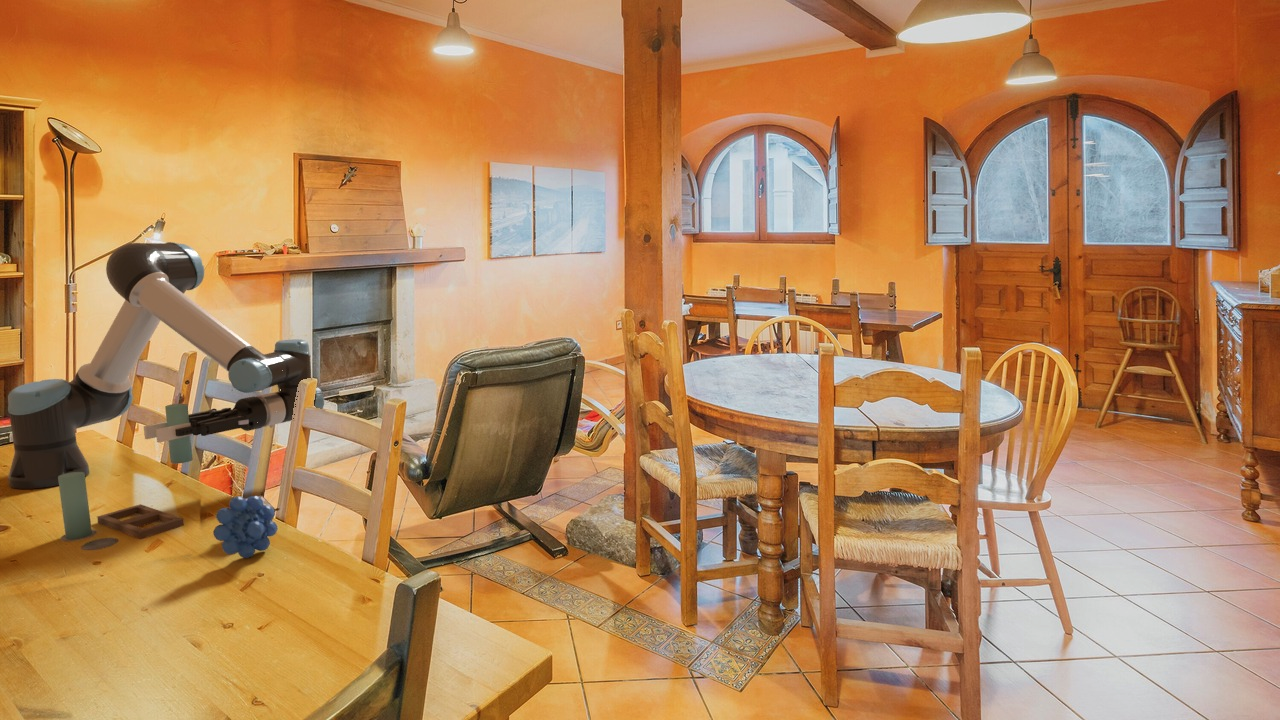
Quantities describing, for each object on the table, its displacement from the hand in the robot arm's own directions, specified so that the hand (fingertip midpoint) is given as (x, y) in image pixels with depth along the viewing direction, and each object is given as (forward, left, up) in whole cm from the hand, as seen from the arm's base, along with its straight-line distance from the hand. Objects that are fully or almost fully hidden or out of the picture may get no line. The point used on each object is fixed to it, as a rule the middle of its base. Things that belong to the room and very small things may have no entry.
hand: (151, 434), depth 151 cm
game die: (+20, +17, -18) cm, 32 cm away
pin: (+7, -13, -17) cm, 22 cm away
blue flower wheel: (+32, +16, -18) cm, 40 cm away
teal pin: (-3, +5, -7) cm, 9 cm away
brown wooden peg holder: (+6, -3, -18) cm, 19 cm away
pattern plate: (+10, -10, -18) cm, 23 cm away
